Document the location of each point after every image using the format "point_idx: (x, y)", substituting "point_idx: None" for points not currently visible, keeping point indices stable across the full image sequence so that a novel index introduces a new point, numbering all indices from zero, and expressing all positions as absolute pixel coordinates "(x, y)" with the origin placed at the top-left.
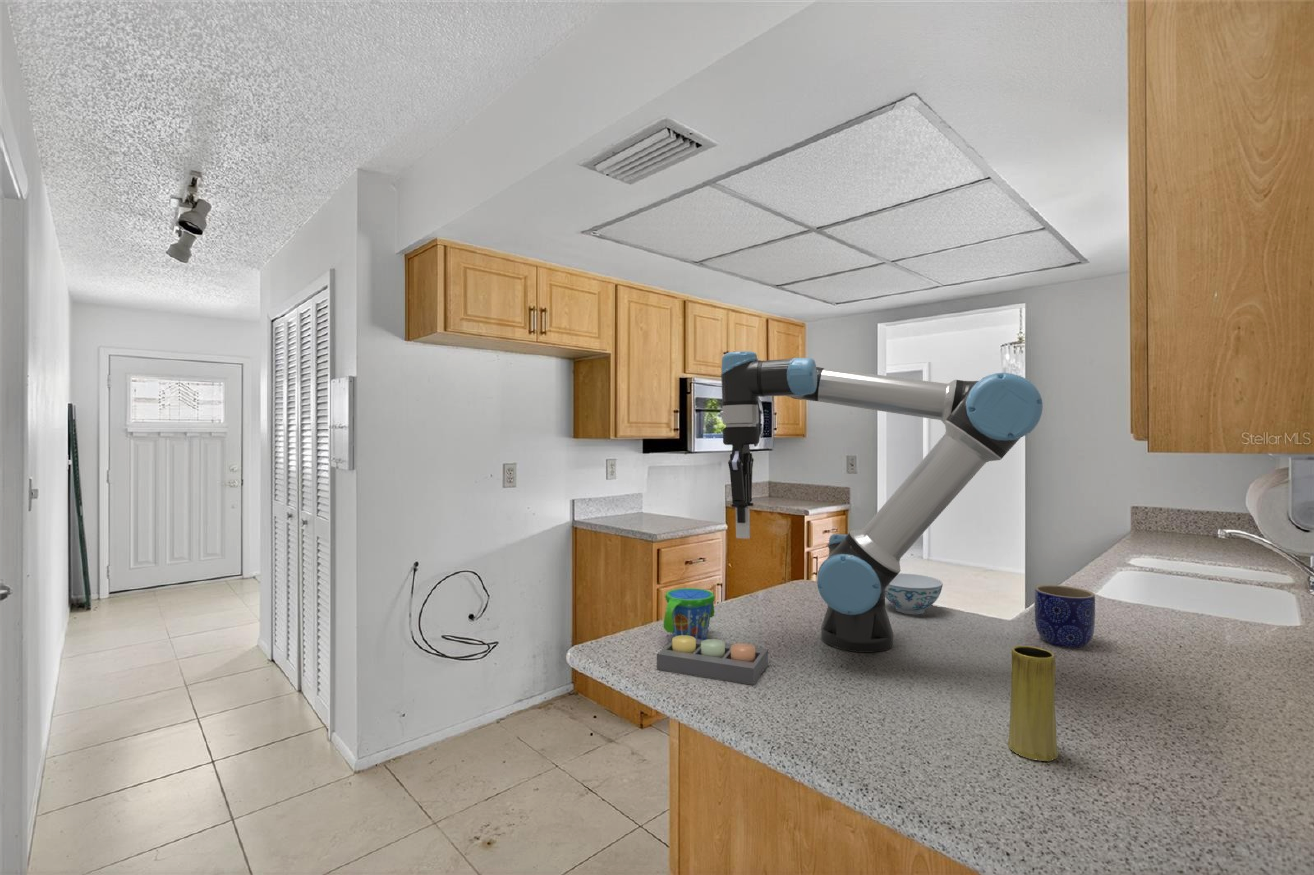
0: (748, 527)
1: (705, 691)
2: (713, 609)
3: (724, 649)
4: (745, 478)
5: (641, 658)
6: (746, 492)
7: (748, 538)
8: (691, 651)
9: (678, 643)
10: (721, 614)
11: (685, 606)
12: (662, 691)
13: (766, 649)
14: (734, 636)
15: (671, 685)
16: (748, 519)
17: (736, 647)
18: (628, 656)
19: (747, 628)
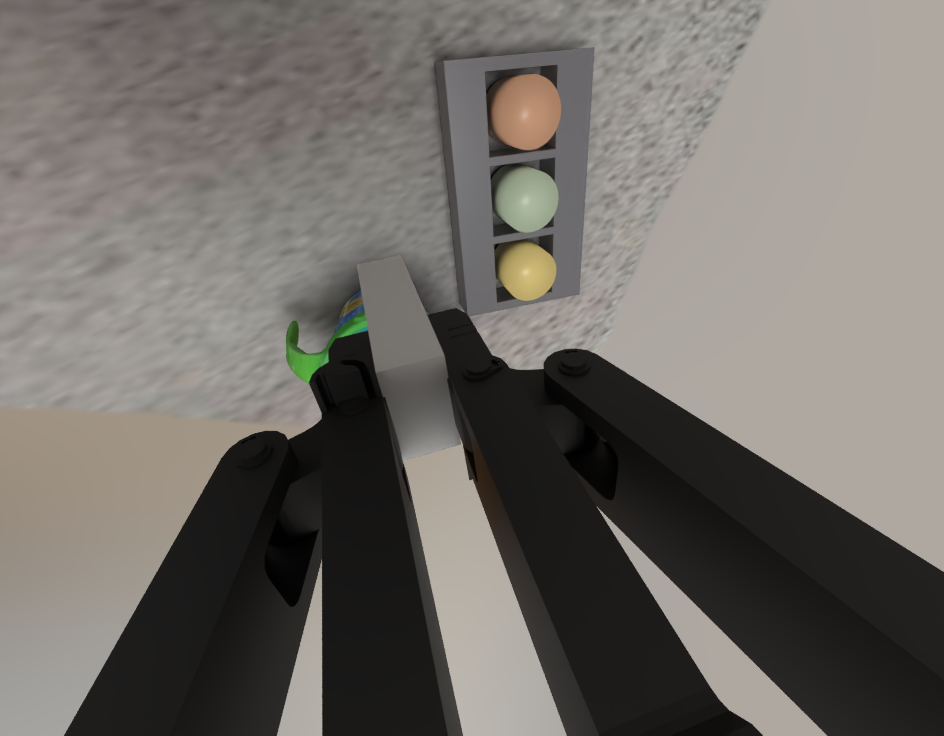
0: (410, 281)
1: (631, 144)
2: (292, 329)
3: (524, 169)
4: (666, 637)
5: (526, 336)
6: (514, 459)
7: (400, 256)
8: (535, 244)
9: (554, 273)
10: (132, 361)
11: None
12: (649, 219)
13: (450, 63)
14: (287, 241)
15: (622, 219)
16: (415, 306)
17: (539, 130)
18: (526, 359)
19: (192, 240)
